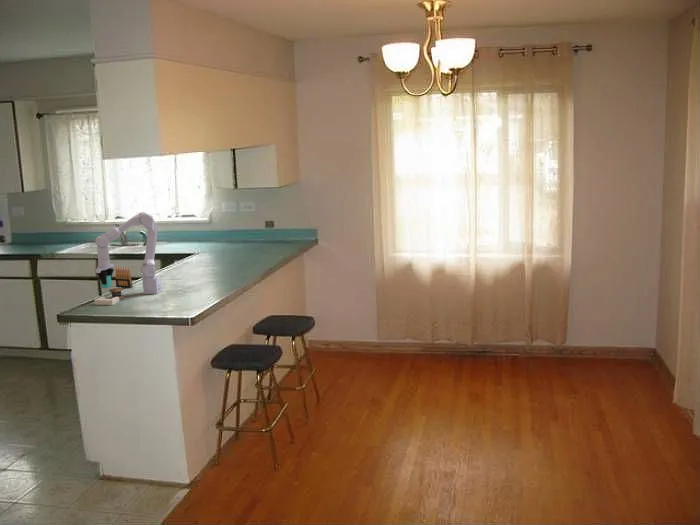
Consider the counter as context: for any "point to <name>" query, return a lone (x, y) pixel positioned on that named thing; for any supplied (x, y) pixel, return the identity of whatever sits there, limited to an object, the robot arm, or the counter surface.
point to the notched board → (106, 301)
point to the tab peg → (107, 282)
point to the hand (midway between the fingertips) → (106, 283)
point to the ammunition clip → (123, 278)
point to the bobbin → (116, 293)
